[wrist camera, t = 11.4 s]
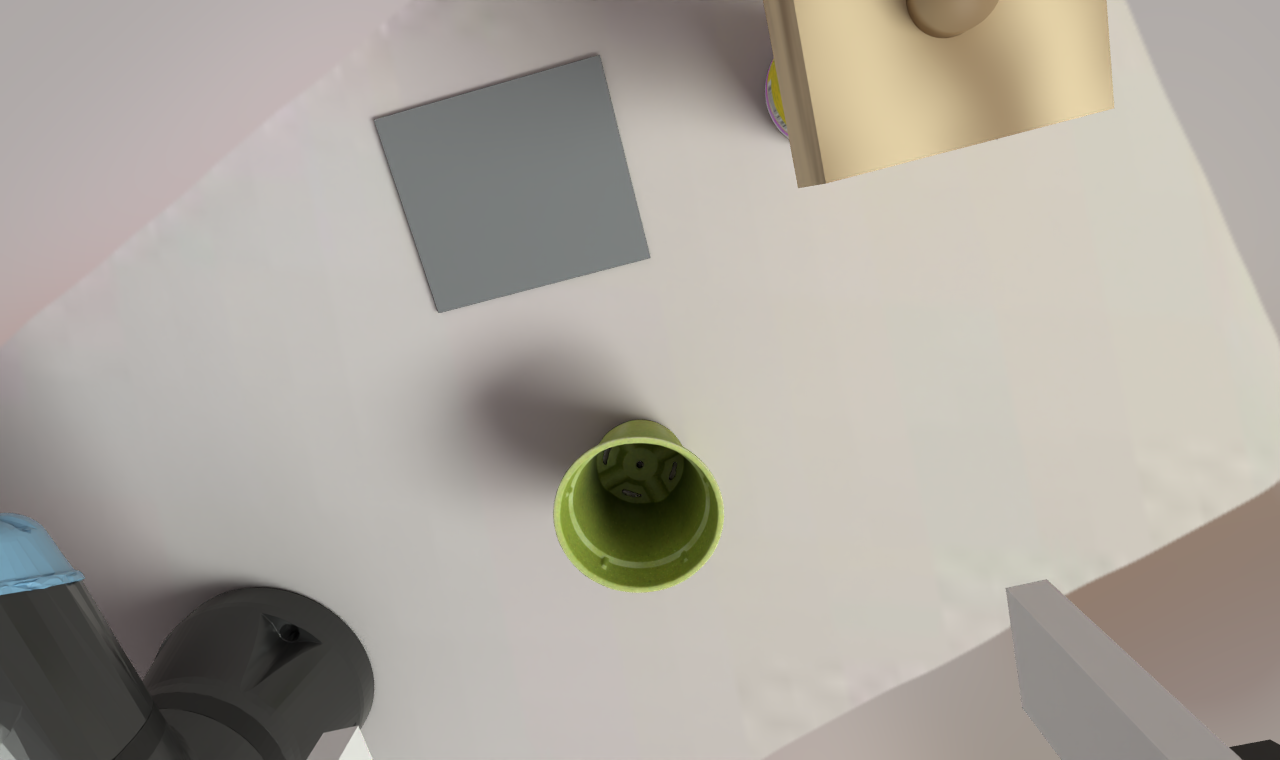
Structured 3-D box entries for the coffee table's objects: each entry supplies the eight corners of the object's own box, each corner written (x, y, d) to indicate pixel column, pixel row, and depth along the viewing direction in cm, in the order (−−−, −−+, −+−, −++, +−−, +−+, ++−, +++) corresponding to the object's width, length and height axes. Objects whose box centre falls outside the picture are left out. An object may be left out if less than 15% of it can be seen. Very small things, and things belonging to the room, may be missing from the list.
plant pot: (586, 380, 43) (571, 420, 35) (724, 410, 43) (742, 458, 35) (559, 507, 45) (539, 574, 37) (691, 535, 46) (700, 607, 37)
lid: (798, 188, 28) (832, 182, 22) (749, -74, 25) (774, -148, 20) (1038, 125, 27) (1130, 104, 22) (1011, -151, 24) (1107, -248, 19)
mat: (440, 312, 42) (438, 313, 42) (375, 120, 39) (373, 119, 39) (650, 257, 41) (650, 257, 41) (599, 56, 38) (599, 54, 38)
